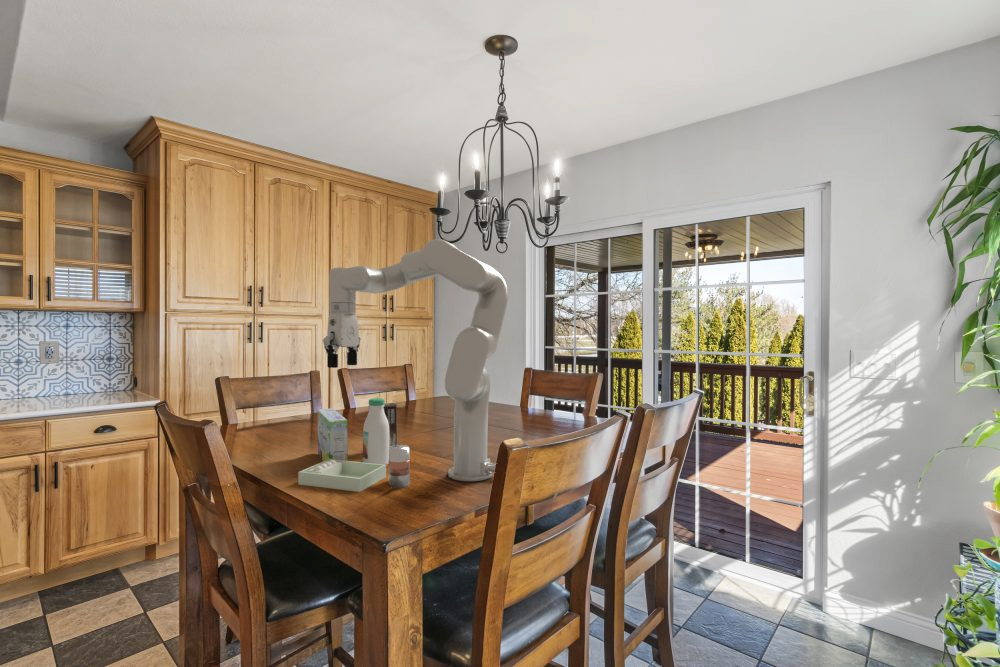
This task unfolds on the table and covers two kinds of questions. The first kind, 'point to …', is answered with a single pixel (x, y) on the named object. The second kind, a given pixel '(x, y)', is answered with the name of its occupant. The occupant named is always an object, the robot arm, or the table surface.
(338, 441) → the snack box
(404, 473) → the tin can
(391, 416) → the coffee box
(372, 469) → the pale green tray
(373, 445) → the milk bottle
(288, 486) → the table surface
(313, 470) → the egg carton
